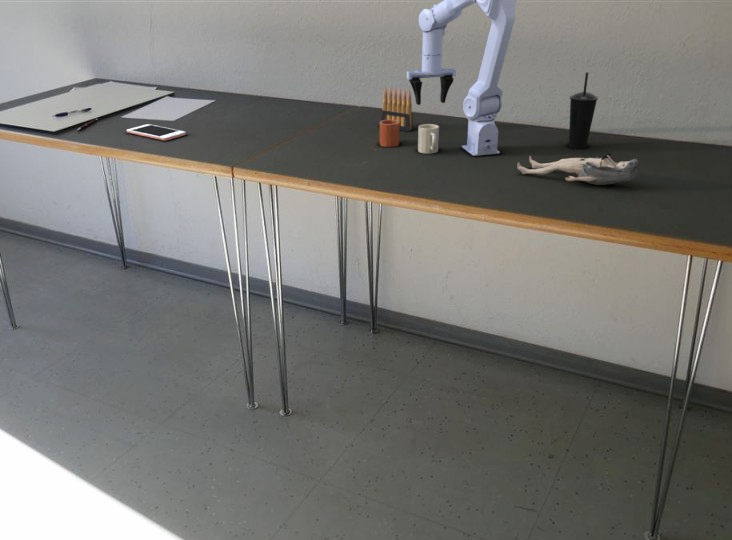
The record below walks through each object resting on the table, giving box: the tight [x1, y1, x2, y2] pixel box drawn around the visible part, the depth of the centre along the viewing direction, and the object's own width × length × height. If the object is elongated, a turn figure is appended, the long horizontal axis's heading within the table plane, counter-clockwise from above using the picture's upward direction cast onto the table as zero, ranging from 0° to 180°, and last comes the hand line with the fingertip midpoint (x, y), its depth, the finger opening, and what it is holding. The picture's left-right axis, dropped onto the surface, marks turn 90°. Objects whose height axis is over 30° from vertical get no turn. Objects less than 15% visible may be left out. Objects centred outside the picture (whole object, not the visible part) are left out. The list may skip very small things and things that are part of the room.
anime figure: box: [516, 152, 640, 186], centre depth 202 cm, size 10×7×30 cm
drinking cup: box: [568, 72, 599, 149], centre depth 225 cm, size 8×8×20 cm
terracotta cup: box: [379, 120, 400, 148], centre depth 234 cm, size 8×6×6 cm
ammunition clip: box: [380, 86, 414, 132], centre depth 248 cm, size 11×2×12 cm, turn 53°
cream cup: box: [417, 123, 440, 155], centre depth 226 cm, size 8×6×7 cm
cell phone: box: [126, 123, 187, 142], centre depth 250 cm, size 9×18×1 cm, turn 53°
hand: (430, 103), depth 238 cm, fingers open, 7 cm apart
